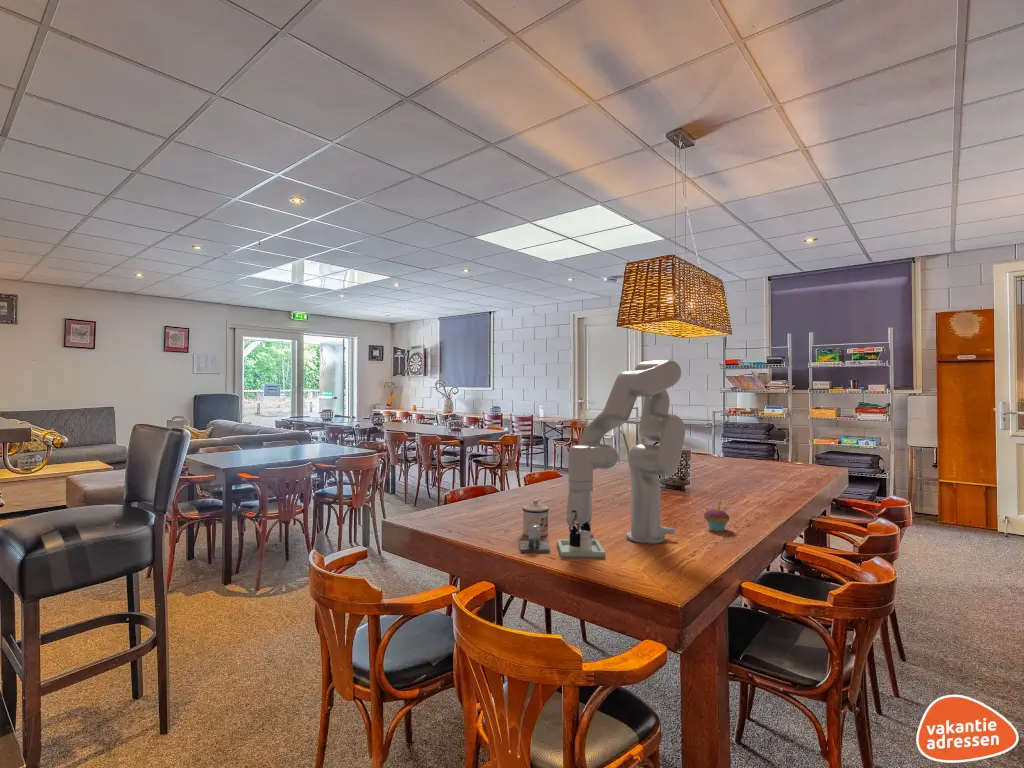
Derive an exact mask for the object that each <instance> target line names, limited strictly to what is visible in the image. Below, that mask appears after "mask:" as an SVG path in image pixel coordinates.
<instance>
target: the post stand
mask: <svg viewBox="0 0 1024 768" xmlns="http://www.w3.org/2000/svg"><path fill="white" fill-rule="evenodd" d="M519 549H520V550H519V551H520V552H536V553H537V554H541V553H542V554H549V553H551V549H550V545H549V541H548V540H541V537H540V525H535V524H533V525H529V536H528V540H519ZM520 552H519V553H520ZM536 553H535V554H536Z"/></svg>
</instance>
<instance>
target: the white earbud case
mask: <svg viewBox="0 0 1024 768" xmlns="http://www.w3.org/2000/svg"><path fill="white" fill-rule="evenodd" d="M579 533H580V547H574V546H570V533H569V534H568V535H569V536H568V539H569V549H570V550H571V551H591V550H592V540H593V539H594V538H595V536H594V533H592V531H591V532H590V531H587V530H580V531H579Z"/></svg>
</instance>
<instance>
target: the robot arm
mask: <svg viewBox="0 0 1024 768" xmlns="http://www.w3.org/2000/svg"><path fill="white" fill-rule="evenodd" d="M681 375H682V370H681V366H680V364H678V362H676V361H675V360H671V359H661V360H647V361H642V362H639V363H638V364H637V365H635V368H634V370H628V371H622V372H620V373H619V374H618V375H617V377H616V378H615V380H614V383H613V386H612V388H611V391H610V393H609V395H608V398H607V401H606V403H605V406H604V408H603V410H602V411H601V412H600V413H599V414H598V415H597V416H596V417H595V418H593V420H592V421H591V423H589V424H588V425H587V427H586V428H585V430H584V431H583V434H582V436H581V438H580V441H579V443H578V444H576V445H571V446H570V447H569V449H568V481H567V482H568V484H567V485H568V489H567V490H568V495H567V496H568V497H567V503H566V505H567V506H566V523H567V524H568V529H569V530H568V531H569V533H570V546H574V547H580V533H579V531H580V530H587V531H590V532H591V533H592V530H591V529H592V528H591V527H592V523H591V520H592V517H593V502H592V501H593V500H592V498H593V497H592V492H593V489H594V469H602V470H607V469H608V470H609V469H611V468H613V467H614V466H615V465H617V463H618V461H619V454H618V451H617V449H616V448H614V447H613V446H612V445H609V444H603V443H600V442H601V441H602V439H603V437H605V435H606V434H607V433H609V432H611V431H612V430H614V429H617V428H619V427H620V426H622V425H624V424H626V423H627V422H628V421H629V420H630V417H631V413H632V411H633V409H634V406H635V404H636V401H637V398H640V397H641V398H644V399H643V406H642V412H641V415H640V420H639V425H638V434H639V436H640V438H642V439H643V440H645V441H649V442H654V443H655V442H657V443H659V444H658V445H653V444H648V443H647V444H645V443H640V444H636V445H634V446H633V447H631V449H630V450H629V452H628V455H627V460H628V461H627V463H628V466H629V467H628V468H629V473H630V531H627V532H626V534H625V536H626V539H627V540H629V541H631V542H636V543H638V544H647V543H648V544H660V543H663V542H665V541H666V536H665V535H675V534H676V530H675V529H676V528H674V527H671V528H670V527H667V526H662V524H661V485H660V481H659V478H658V476H660V477H665V478H666V477H667V478H668V477H671V476H673V475H675V474H676V473H677V471H678V468H679V465H680V463H681V462H680V461H681V457H682V452H683V448H684V442H685V436H686V425H685V423H684V421H683V420H682V418H681V417H679V416H678V415H675V414H672V413H670V414H669V410H670V405H671V404H670V403H671V402H670V395H669V393H668V391H667V390H668V389H669V388H671V387H673V386H675V385H676V384H677V383H678V382H679V381H680V378H681Z"/></svg>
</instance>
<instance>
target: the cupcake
mask: <svg viewBox="0 0 1024 768" xmlns="http://www.w3.org/2000/svg"><path fill="white" fill-rule="evenodd" d="M721 504H722V497H720V498H718V505H717V506H718V507H717V509H709V510H707V511H705V513H704V514H703V518H704V520H706V521H707V524H708V527H709V530H711V529H712V530H711V531H713V530H719V531H718V532H721V531H720V530H724V531H725V529H726V526H727V523H728V522H729V521H730V516H729V514H728V513H727V512H726V511H724V510H721Z"/></svg>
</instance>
